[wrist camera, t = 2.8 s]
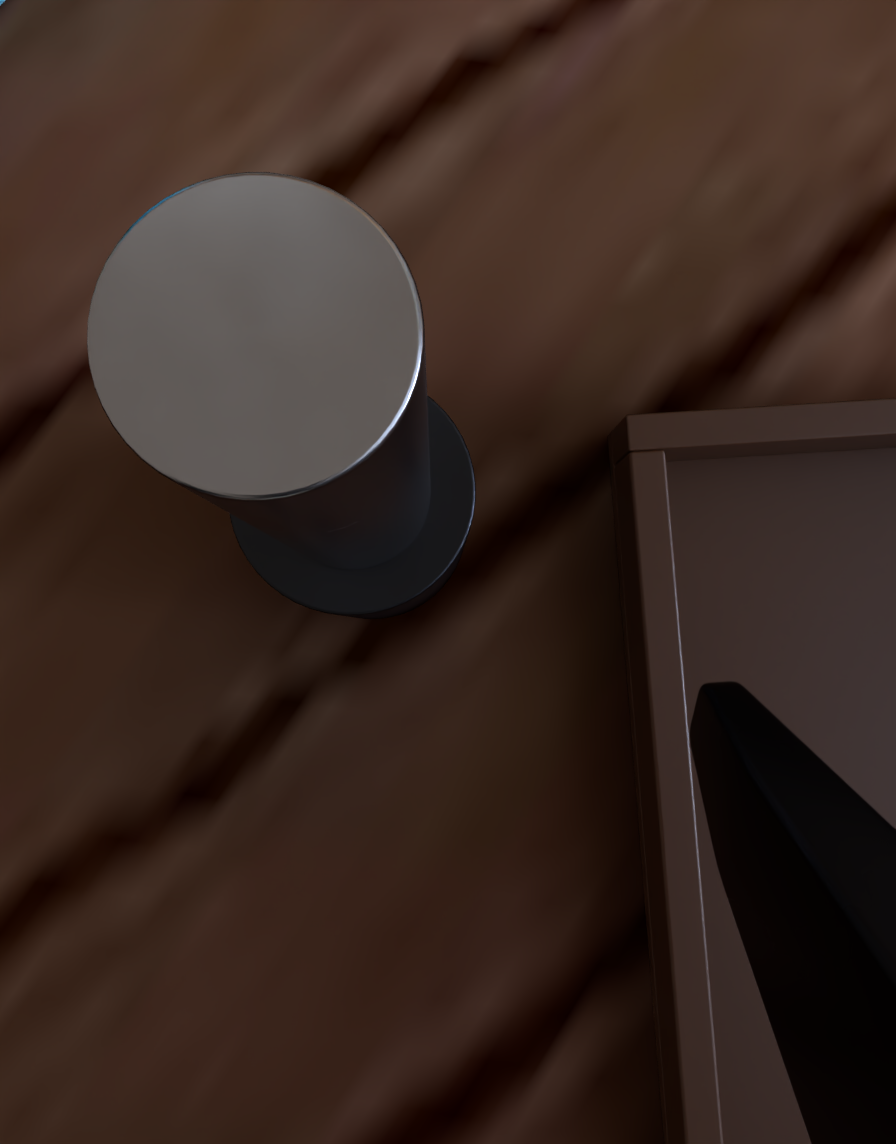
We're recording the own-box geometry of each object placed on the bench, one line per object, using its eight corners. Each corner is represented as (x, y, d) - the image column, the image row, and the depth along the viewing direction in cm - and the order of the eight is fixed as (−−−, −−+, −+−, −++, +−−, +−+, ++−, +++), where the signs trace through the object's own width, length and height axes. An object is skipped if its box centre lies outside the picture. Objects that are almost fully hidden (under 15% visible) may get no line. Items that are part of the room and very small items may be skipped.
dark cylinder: (472, 612, 20) (540, 580, 7) (284, 625, 20) (-6, 616, 7) (459, 427, 20) (502, 63, 7) (274, 439, 20) (-22, 90, 7)
